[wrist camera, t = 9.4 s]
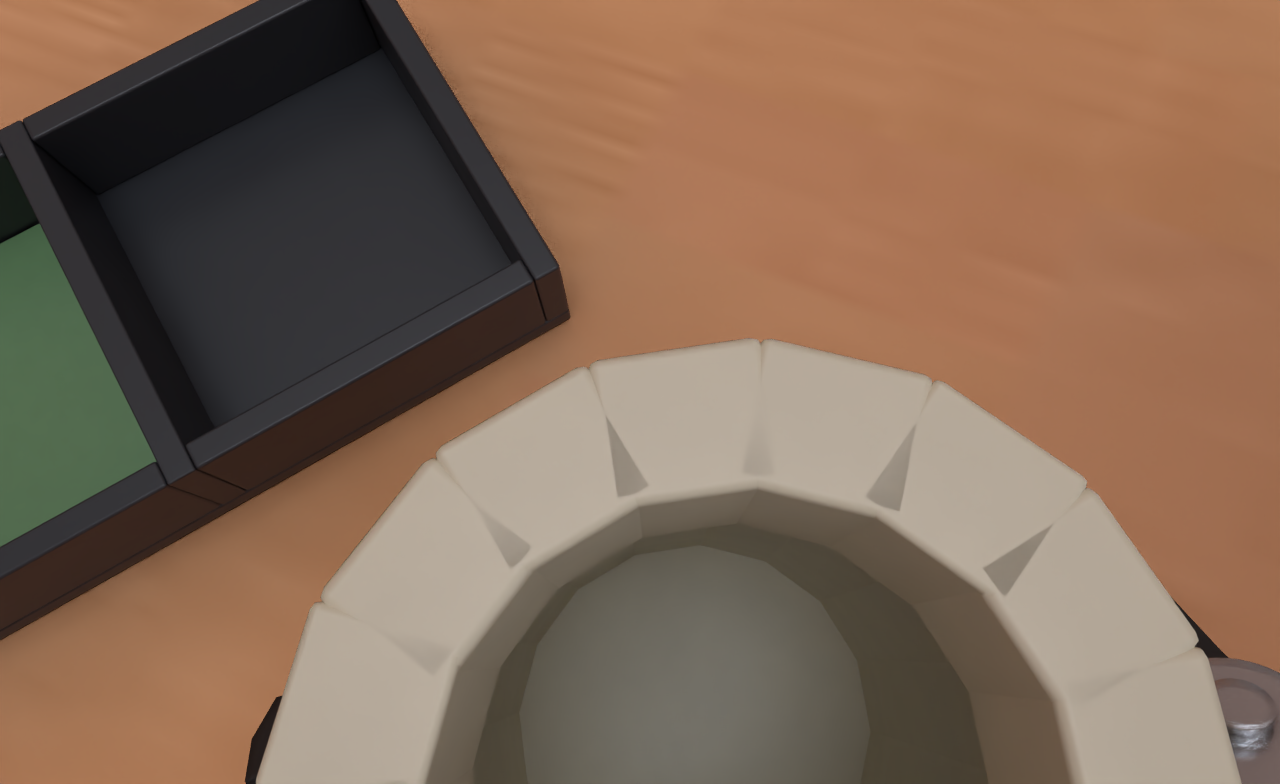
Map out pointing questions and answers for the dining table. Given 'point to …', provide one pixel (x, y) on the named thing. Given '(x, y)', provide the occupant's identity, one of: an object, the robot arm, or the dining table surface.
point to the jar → (747, 598)
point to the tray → (237, 279)
